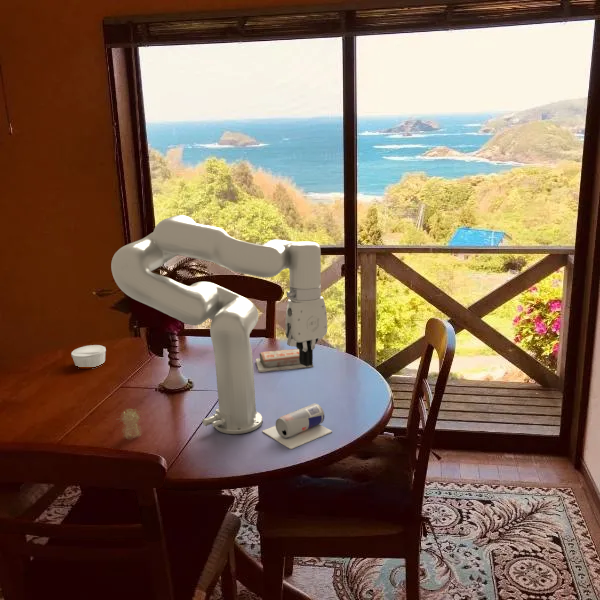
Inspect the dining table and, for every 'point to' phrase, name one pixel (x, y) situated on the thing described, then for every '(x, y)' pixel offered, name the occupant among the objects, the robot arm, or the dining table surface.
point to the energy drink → (299, 420)
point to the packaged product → (279, 360)
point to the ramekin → (89, 356)
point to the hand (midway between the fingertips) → (306, 364)
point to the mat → (298, 436)
